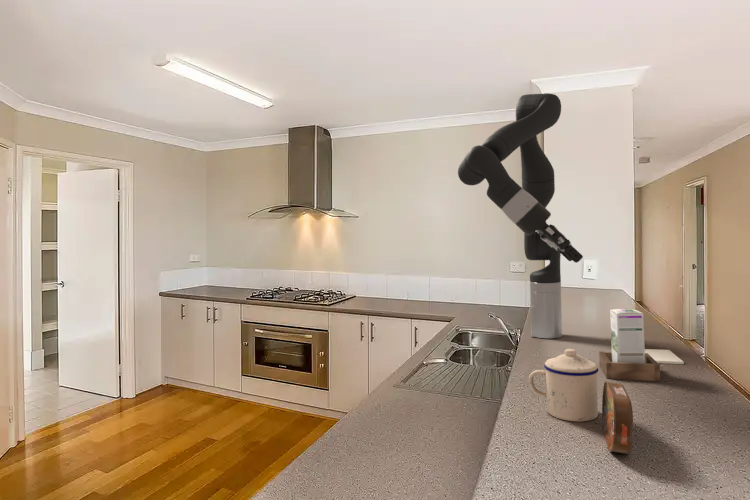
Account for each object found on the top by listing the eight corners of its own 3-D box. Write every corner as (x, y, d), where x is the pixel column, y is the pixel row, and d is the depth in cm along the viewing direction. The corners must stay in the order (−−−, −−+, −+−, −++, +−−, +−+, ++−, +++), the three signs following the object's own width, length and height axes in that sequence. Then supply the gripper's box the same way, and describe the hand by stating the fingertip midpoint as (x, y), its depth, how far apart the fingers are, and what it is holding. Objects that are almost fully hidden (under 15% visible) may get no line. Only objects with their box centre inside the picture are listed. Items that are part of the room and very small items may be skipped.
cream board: (628, 361, 117) (628, 359, 117) (619, 350, 128) (619, 348, 128) (683, 364, 113) (683, 361, 113) (669, 352, 125) (669, 349, 125)
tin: (600, 422, 81) (599, 374, 81) (621, 424, 80) (620, 375, 80) (611, 462, 67) (610, 404, 67) (636, 465, 66) (635, 406, 66)
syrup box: (646, 377, 105) (645, 312, 104) (617, 376, 106) (616, 312, 105) (637, 369, 110) (636, 308, 110) (610, 369, 111) (609, 308, 111)
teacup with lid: (600, 408, 87) (599, 346, 87) (597, 426, 79) (596, 358, 79) (533, 399, 93) (532, 341, 93) (524, 415, 85) (523, 352, 85)
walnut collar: (606, 378, 105) (606, 362, 105) (599, 365, 115) (599, 351, 115) (660, 381, 101) (659, 365, 101) (647, 367, 111) (647, 353, 111)
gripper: (540, 198, 106) (595, 248, 103) (534, 202, 119) (582, 247, 117) (515, 222, 107) (569, 272, 104) (512, 224, 121) (560, 268, 118)
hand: (576, 259), depth 111 cm, fingers open, 8 cm apart
